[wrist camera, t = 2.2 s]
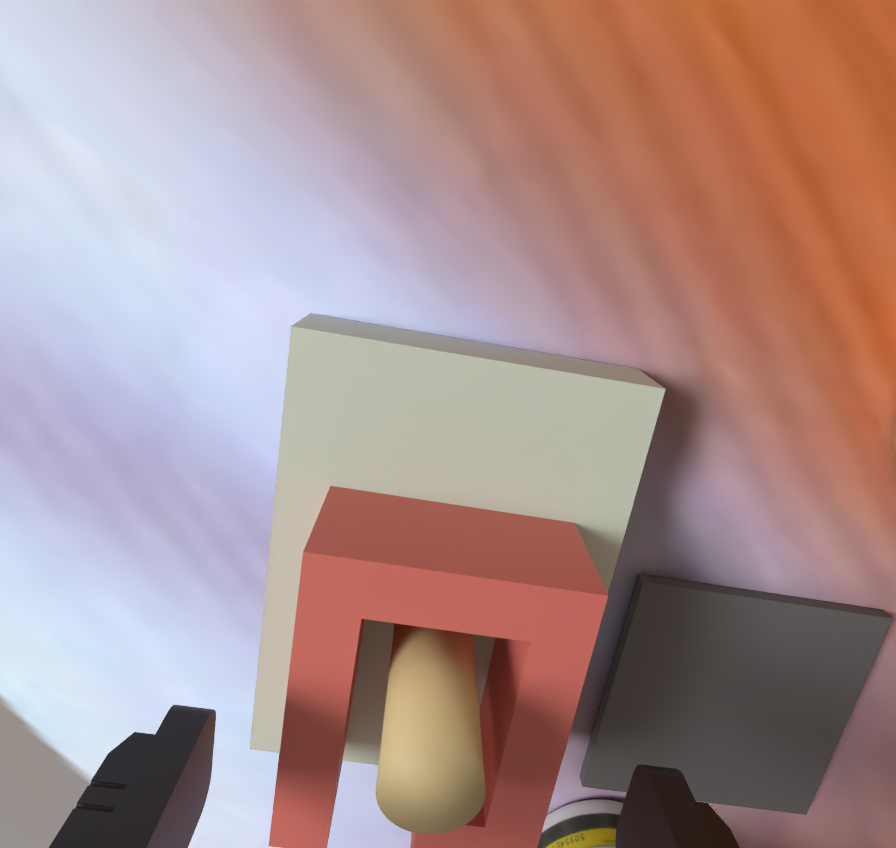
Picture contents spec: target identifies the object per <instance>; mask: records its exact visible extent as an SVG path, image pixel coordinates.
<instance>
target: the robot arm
mask: <svg viewBox="0 0 896 848" xmlns="http://www.w3.org/2000/svg"><path fill="white" fill-rule="evenodd" d="M215 721H216V713H215V710H212V709H204V708H196V707H188V706H180V705H173V706H172V707H171V708H170V710H169V711H168V713H167V715H166V717H165V718H164V720H163V722H162V724H161V725H160V727H159V729H158V731H157V733H156V734H155V735H154V734H145V733H137V732H134V733H133V734H132V735H131V736H129V737H128V738H127V739H126V740H124V741H123V742H122V743H121V744H120V745H118V746H117V747H116V748H115V749H113V750H112V751H111V752H110V753H108V755H107V757H106V758H105V760H104V761H103V763H102V764H101V766H100V768H99V769H98V771H97V772H96V774H95V776H94V777H93V779H92V780H91V784H90V786H88V787H87V788H86V790H85V791H84V793H83V795H82V796H81V798H80V799H79V801H78V802H77V806H76V808H75V809H73V810H72V812H71V814H70V815H69V817H68V818H67V820H66V821H65V823H64V825H63V826H62V828H61V829H60V831H59V832H58V834H57V836H56V837H55V839H54V841H53V842H52V844H51V845H50V847H49V848H188V845H189V843H190V841H191V838H192V836H193V833H194V831H195V828H196V826H197V823H198V821H199V818H200V816H201V813H202V810H203V807H204V804H205V801H206V797H207V793H208V789H209V784H210V779H211V770H212V758H213V745H214V733H215ZM616 848H739V846H738V844H737V842H736V840H735V838H734V836H733V834H732V832H731V830H730V828H729V827H728V826H727V825H726V824H725V823H724V821H723V820H722V819H721V818H720V817H719V816H718V815H717V813H716V812H715V811H714V810H713V809H712V808H711V807H710V806H709V804H708V803H702V802H696V801H695V799H694V797H693V795H692V792H691V790H690V788H689V786H688V784H687V782H686V779H685V777H684V776H683V774H682V772H681V771H680V770H678V769H675V768H667V767H659V766H651V765H643V764H639V765H637V766H636V768H635V769H634V772H633V775H632V778H631V782H630V785H629V788H628V791H627V794H626V798H625V801H624V804H623V807H622V810H621V814H620V817H619V820H618V823H617V828H616Z"/></svg>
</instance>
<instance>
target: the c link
mask: <svg viewBox="0 0 896 848" xmlns="http://www.w3.org/2000/svg"><path fill="white" fill-rule="evenodd" d="M607 599H608V594H607V592H606V590H605V587H604V585H603V583H602V581H601V579H600V577H599V574H598V572H597V570H596V568H595V566H594V563H593V561H592V559H591V557H590V555H589V553H588V550H587V548H586V546H585V544H584V542H583V539H582V537H581V535H580V533H579V531H578V529H577V526H576V524H575V523H572V522H566V521H559V520H553V519H546V518H539V517H533V516H526V515H520V514H513V513H507V512H500V511H493V510H487V509H480V508H474V507H467V506H460V505H454V504H447V503H441V502H434V501H428V500H421V499H414V498H408V497H401V496H395V495H388V494H382V493H375V492H368V491H362V490H355V489H349V488H342V487H336V486H330V488H329V491H328V493H327V495H326V498H325V500H324V503H323V505H322V507H321V510H320V512H319V515H318V517H317V520H316V522H315V524H314V527H313V529H312V532H311V534H310V536H309V539H308V541H307V544H306V546H305V548H304V551H303V557H302V565H301V574H300V582H299V591H298V600H297V608H296V617H295V625H294V634H293V642H292V651H291V660H290V668H289V677H288V685H287V694H286V702H285V711H284V720H283V728H282V737H281V745H280V754H279V762H278V771H277V780H276V788H275V797H274V805H273V814H272V823H271V831H270V840H269V846H273V847H282V848H327V843H328V837H329V832H330V826H331V821H332V815H333V810H334V804H335V799H336V793H337V788H338V782H339V776H340V771H341V765H342V760H343V754H344V749H345V743H346V737H347V730H348V724H349V717H350V711H351V704H352V698H353V691H354V685H355V678H356V672H357V666H358V659H359V653H360V646H361V640H362V633H363V627H364V620H365V619H368V620H375V621H382V622H390V623H397V624H404V625H411V626H418V627H425V628H433V629H440V630H447V631H454V632H461V633H469V634H476V635H483V636H490V637H496V639H495V643H494V648H493V652H492V656H491V661H490V665H489V670H488V674H487V678H486V683H485V687H484V692H483V696H482V700H481V705H480V709H479V715H480V727H481V739H482V751H483V763H484V775H485V787H486V794H485V800H484V803H483V806H482V807H481V809H480V811H479V812H478V814H477V815H476V816H475V817H474V818H473V819H472V820H471V821H470V822H468V823H467V824H465V825H464V826H462V827H460V828H458V829H456V830H453V831H450V832H446V833H442V834H419V833H414V832H411V848H537V847H538V844H539V840H540V837H541V833H542V830H543V826H544V822H545V819H546V815H547V812H548V808H549V805H550V801H551V798H552V794H553V791H554V787H555V784H556V780H557V776H558V773H559V769H560V766H561V762H562V759H563V755H564V752H565V748H566V745H567V741H568V737H569V734H570V730H571V727H572V723H573V720H574V716H575V713H576V709H577V706H578V702H579V698H580V695H581V691H582V688H583V684H584V681H585V677H586V674H587V670H588V667H589V663H590V660H591V656H592V652H593V649H594V645H595V642H596V638H597V635H598V631H599V628H600V624H601V621H602V617H603V613H604V610H605V606H606V603H607Z"/></svg>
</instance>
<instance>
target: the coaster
mask: <svg viewBox="0 0 896 848" xmlns="http://www.w3.org/2000/svg"><path fill="white" fill-rule="evenodd" d="M891 620H892V618H891V617H890V616H889V615H888V614H886V613H885V612H884V611H883V610H879V609H872V608H865V607H859V606H852V605H845V604H838V603H831V602H825V601H818V600H811V599H804V598H798V597H791V596H784V595H777V594H771V593H764V592H757V591H750V590H743V589H737V588H730V587H723V586H716V585H710V584H703V583H696V582H689V581H683V580H676V579H669V578H662V577H656V576H649V575H642V574H639V576H638V579H637V583H636V586H635V590H634V593H633V596H632V600H631V603H630V607H629V610H628V613H627V617H626V620H625V624H624V627H623V630H622V634H621V637H620V640H619V644H618V647H617V651H616V654H615V657H614V661H613V664H612V668H611V671H610V674H609V678H608V681H607V685H606V688H605V691H604V695H603V698H602V701H601V705H600V708H599V712H598V715H597V718H596V722H595V725H594V729H593V732H592V735H591V739H590V742H589V745H588V749H587V752H586V756H585V759H584V762H583V766H582V769H581V773H580V779H581V783H582V787H589V788H597V789H605V790H613V791H621V792H627V791H628V788H629V785H630V782H631V778H632V775H633V772H634V769H635V768H636V766H637V765H639V764H643V765H651V766H659V767H667V768H675V769H678V770H680V771H681V772H682V774H683V776H684V777H685V779H686V782H687V784H688V786H689V788H690V790H691V792H692V795H693V797H694V799H695V801H701V802H709V803H717V804H725V805H733V806H741V807H749V808H757V809H765V810H773V811H781V812H789V813H797V814H805V815H806V814H807V812H808V809H809V807H810V805H811V803H812V800H813V798H814V796H815V793H816V791H817V789H818V787H819V784H820V782H821V780H822V777H823V775H824V773H825V771H826V768H827V766H828V764H829V762H830V759H831V757H832V755H833V752H834V750H835V748H836V746H837V743H838V741H839V739H840V736H841V734H842V732H843V730H844V727H845V725H846V723H847V721H848V718H849V716H850V714H851V711H852V709H853V707H854V705H855V702H856V700H857V698H858V695H859V693H860V691H861V689H862V686H863V684H864V682H865V680H866V677H867V675H868V673H869V670H870V668H871V666H872V664H873V661H874V659H875V657H876V654H877V652H878V650H879V648H880V645H881V643H882V641H883V638H884V636H885V634H886V632H887V629H888V627H889V625H890V623H891Z"/></svg>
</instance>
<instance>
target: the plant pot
mask: <svg viewBox="0 0 896 848" xmlns="http://www.w3.org/2000/svg"><path fill="white" fill-rule="evenodd" d="M894 444H895V457H896V427H895V443H894Z"/></svg>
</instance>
